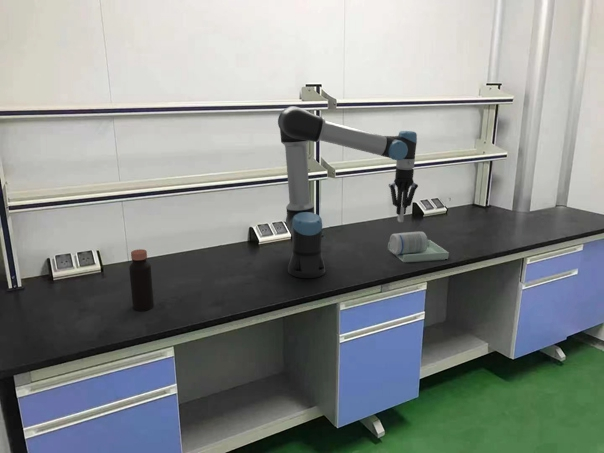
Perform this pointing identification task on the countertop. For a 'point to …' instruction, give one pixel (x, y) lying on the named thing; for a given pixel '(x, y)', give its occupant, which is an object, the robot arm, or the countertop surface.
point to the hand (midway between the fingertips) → (400, 221)
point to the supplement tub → (408, 243)
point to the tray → (424, 254)
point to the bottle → (141, 281)
